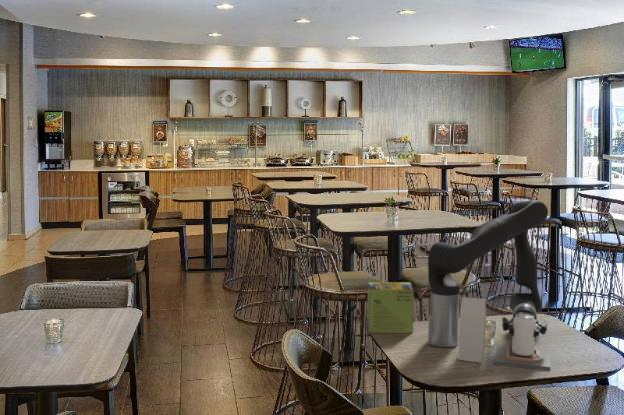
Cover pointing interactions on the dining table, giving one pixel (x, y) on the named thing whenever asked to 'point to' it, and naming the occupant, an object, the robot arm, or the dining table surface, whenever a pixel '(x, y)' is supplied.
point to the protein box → (390, 307)
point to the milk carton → (472, 329)
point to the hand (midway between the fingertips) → (523, 333)
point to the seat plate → (522, 358)
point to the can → (523, 334)
